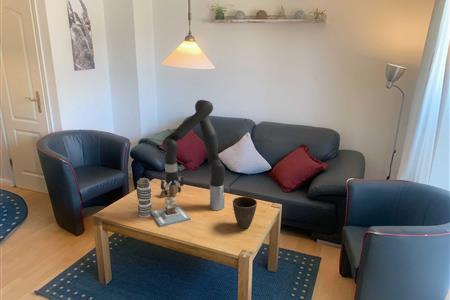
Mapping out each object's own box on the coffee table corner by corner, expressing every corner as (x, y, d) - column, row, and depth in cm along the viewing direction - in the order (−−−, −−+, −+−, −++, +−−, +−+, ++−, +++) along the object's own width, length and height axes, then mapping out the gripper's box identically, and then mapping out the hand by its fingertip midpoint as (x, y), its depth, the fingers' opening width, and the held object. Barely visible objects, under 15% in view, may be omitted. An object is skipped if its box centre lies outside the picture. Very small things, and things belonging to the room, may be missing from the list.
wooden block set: (174, 189, 258) (173, 177, 255) (183, 190, 254) (182, 178, 251) (159, 198, 243) (158, 185, 240) (169, 200, 239) (168, 186, 236)
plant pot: (254, 232, 199) (256, 208, 194) (230, 230, 201) (230, 206, 196) (256, 220, 213) (258, 197, 208) (233, 218, 215) (234, 195, 210)
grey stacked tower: (135, 214, 218) (132, 179, 211) (146, 209, 225) (144, 175, 217) (143, 219, 212) (141, 183, 205) (155, 214, 219) (153, 179, 212)
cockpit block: (172, 204, 217) (172, 196, 216) (175, 207, 213) (175, 199, 211) (165, 205, 215) (164, 197, 213) (167, 208, 211) (167, 200, 209)
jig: (179, 207, 229) (179, 202, 228) (190, 219, 212) (190, 215, 211) (151, 213, 220) (150, 208, 219) (160, 226, 203) (160, 222, 202)
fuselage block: (172, 212, 219) (172, 204, 217) (175, 215, 215) (175, 207, 213) (165, 213, 217) (165, 205, 215) (168, 217, 212) (167, 208, 211)
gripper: (179, 166, 213) (181, 189, 218) (158, 169, 207) (160, 193, 211) (184, 169, 207) (185, 193, 212) (162, 173, 200) (163, 198, 205)
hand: (172, 193), depth 211 cm, fingers open, 8 cm apart
